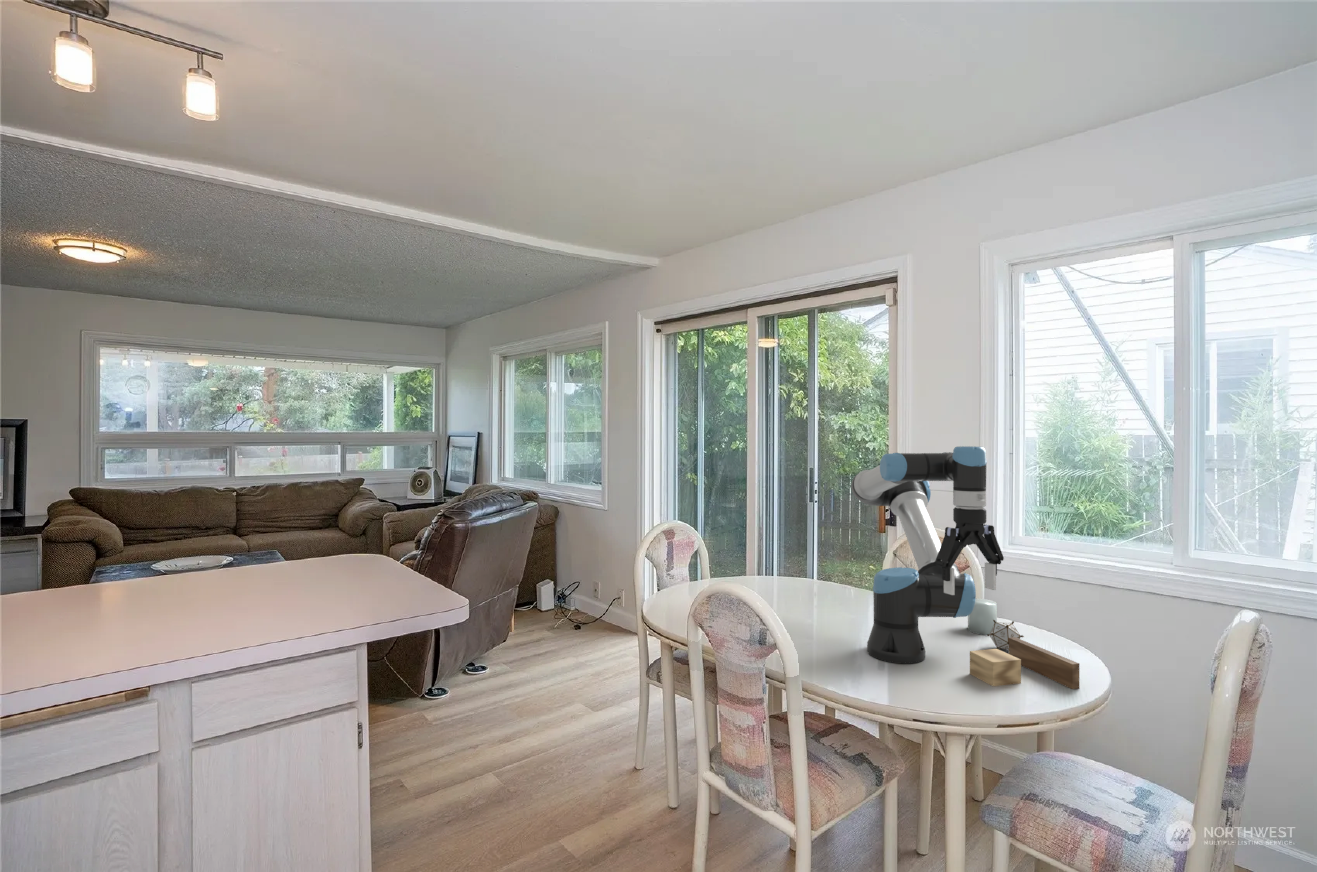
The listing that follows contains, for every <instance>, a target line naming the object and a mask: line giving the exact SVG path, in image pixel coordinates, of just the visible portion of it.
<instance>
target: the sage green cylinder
mask: <svg viewBox="0 0 1317 872" xmlns="http://www.w3.org/2000/svg"><path fill="white" fill-rule="evenodd" d="M997 605H998V604H997V602H996V601H994V600H991V599H986V598H978V597H977V598H976V600H975V606H974V609H973V611H972V613H971V614H970V615H968V616H967V631H969V632H971V633H973V634H976V635H977V634H978V635H984V636H987V634H989V635H990V632H991V630H992V628H993V626H994V624H995V622H994V621H993V620H995V621H996V622H998V614H997V613H998V611H997V610H998V606H997Z"/></svg>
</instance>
